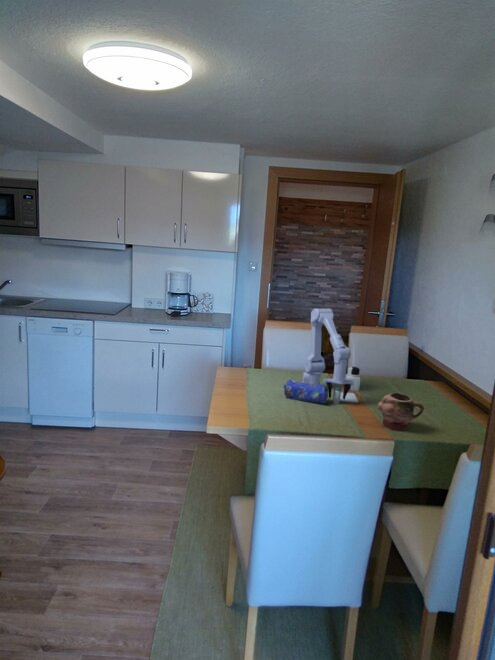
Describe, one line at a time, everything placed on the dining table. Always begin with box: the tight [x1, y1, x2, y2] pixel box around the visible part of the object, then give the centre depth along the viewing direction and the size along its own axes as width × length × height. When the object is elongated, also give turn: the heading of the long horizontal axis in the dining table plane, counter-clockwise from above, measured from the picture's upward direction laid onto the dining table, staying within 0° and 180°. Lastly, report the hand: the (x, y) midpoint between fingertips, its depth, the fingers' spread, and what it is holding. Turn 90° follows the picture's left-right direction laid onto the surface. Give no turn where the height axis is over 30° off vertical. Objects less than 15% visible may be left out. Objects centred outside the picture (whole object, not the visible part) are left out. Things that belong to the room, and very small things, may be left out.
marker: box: [332, 384, 342, 405], centre depth 217 cm, size 4×4×8 cm
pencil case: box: [282, 378, 329, 405], centre depth 218 cm, size 22×9×10 cm, turn 71°
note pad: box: [340, 391, 359, 404], centre depth 226 cm, size 9×13×1 cm
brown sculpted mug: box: [376, 392, 425, 431], centre depth 193 cm, size 20×12×14 cm, turn 93°
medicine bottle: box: [345, 366, 361, 392], centre depth 240 cm, size 7×7×12 cm
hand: (336, 398), depth 217 cm, fingers open, 6 cm apart
